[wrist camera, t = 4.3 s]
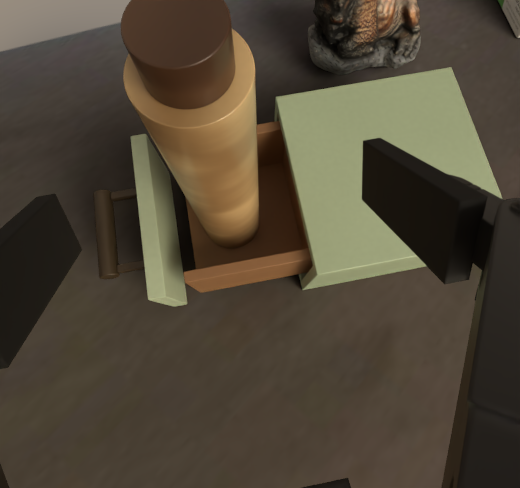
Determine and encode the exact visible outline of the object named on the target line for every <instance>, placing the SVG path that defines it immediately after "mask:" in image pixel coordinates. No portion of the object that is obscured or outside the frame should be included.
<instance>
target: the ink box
mask: <svg viewBox="0 0 520 488" xmlns="http://www.w3.org/2000/svg"><path fill="white" fill-rule="evenodd" d="M498 2H499V4H500V6H501V8H502V10H503V12H504V14H505V16H506V18H507V20H508V22H509V24H510V26H511V28H512V30H513V32H514V34H515V36H516V38H520V0H498Z"/></svg>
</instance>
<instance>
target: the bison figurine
mask: <svg viewBox="0 0 520 488" xmlns="http://www.w3.org/2000/svg"><path fill="white" fill-rule="evenodd" d="M313 12H314V14H315V16H316V17H317V19H316V20H315V24H314V25H312V26H310V27H309V28H308V42H309V51H310V57H311V60H312V61H313V63H314V64H315V65H316V66H318V67H319V68H321V69H323V70H326V71H329V72H332V73H335V74H339V75H345V74H349V73H351V72H353V71H355V70H362V69H364V68H367V67H377V66H387V67H392V68H394V69H396V68H398V67H399V66H402V65H403V64H405V63H408V62H411V61H412V60H414V58H415V57H416V54H417V52H418V50H419V47H420V41H421V38H420V26H419V24H418V22H419V20H420V15H419V8H418V6H417V1H416V0H315V7H314V10H313Z"/></svg>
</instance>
